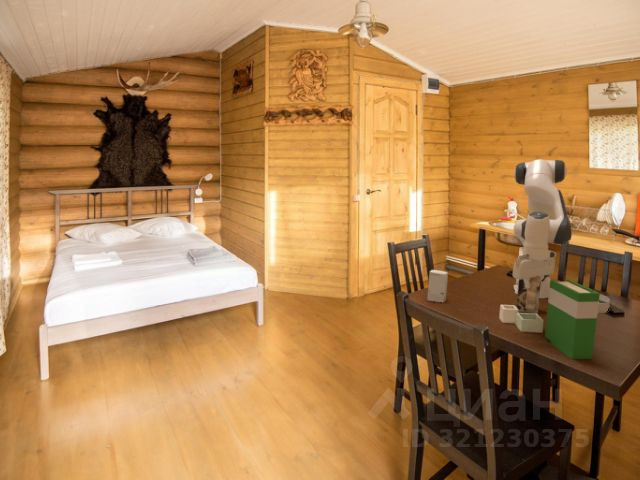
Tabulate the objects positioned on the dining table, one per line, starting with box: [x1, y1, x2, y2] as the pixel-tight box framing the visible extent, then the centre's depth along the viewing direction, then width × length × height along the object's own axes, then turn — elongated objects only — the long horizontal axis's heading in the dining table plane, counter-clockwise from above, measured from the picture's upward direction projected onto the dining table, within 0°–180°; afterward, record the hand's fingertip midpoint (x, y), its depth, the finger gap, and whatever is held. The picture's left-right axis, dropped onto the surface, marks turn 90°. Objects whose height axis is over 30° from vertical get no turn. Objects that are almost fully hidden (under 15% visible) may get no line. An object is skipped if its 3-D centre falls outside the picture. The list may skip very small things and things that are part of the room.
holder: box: [515, 312, 545, 334], centre depth 181 cm, size 8×8×6 cm
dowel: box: [526, 276, 538, 310], centre depth 179 cm, size 4×4×15 cm
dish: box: [598, 293, 611, 314], centre depth 212 cm, size 22×22×5 cm
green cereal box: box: [544, 279, 601, 360], centre depth 163 cm, size 18×7×24 cm, turn 3°
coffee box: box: [515, 279, 541, 315], centre depth 202 cm, size 9×6×16 cm
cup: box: [498, 304, 519, 324], centre depth 190 cm, size 6×6×7 cm
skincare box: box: [426, 269, 449, 304], centre depth 219 cm, size 8×6×15 cm
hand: (532, 287), depth 178 cm, fingers closed on dowel, 3 cm apart
